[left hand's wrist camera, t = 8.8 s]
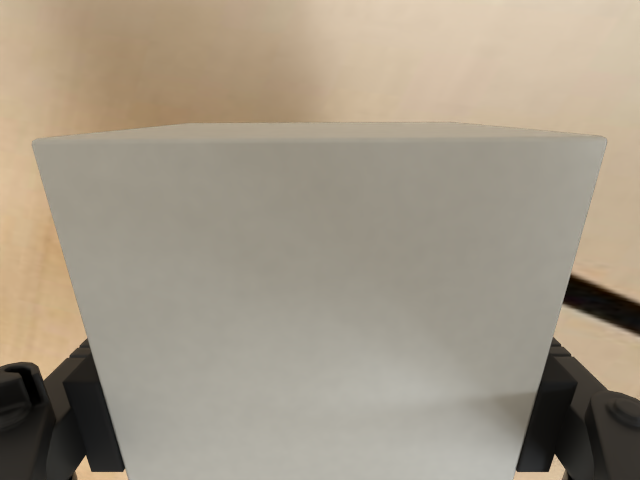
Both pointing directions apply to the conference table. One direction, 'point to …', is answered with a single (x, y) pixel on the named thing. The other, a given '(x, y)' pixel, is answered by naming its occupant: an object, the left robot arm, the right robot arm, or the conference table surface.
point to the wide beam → (320, 291)
